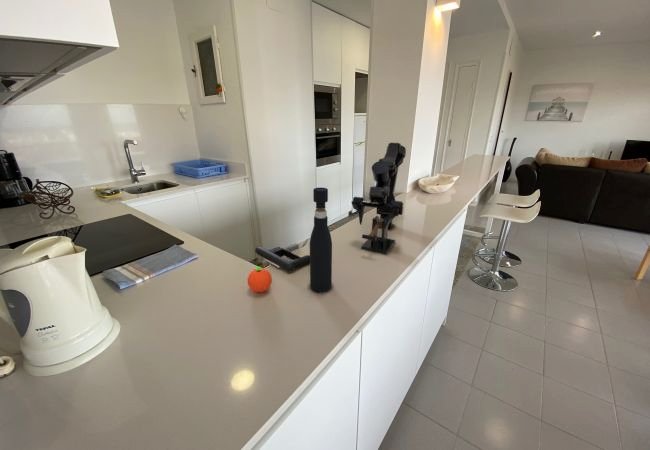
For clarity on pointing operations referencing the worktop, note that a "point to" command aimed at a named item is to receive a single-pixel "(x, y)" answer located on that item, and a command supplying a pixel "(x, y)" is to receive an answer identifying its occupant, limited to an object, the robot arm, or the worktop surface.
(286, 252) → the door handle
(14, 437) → the worktop surface
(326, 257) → the black bottle
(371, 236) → the lever
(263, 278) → the clementine
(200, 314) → the worktop surface
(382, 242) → the bracket
